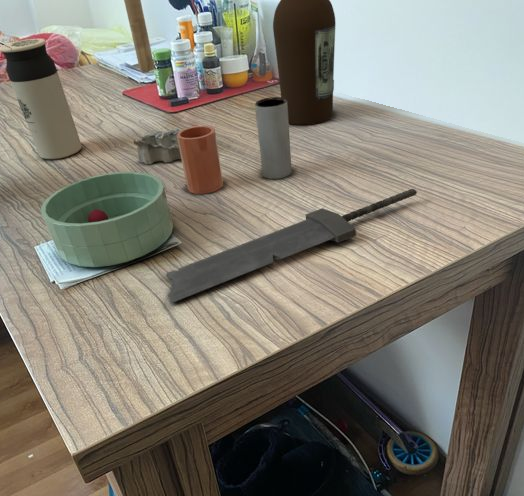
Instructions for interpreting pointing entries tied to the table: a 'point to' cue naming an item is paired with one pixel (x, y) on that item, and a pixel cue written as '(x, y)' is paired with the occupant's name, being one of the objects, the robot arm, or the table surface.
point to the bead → (97, 216)
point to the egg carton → (158, 146)
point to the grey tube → (274, 137)
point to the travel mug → (41, 98)
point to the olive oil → (305, 58)
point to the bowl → (119, 218)
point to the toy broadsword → (269, 249)
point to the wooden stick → (139, 35)
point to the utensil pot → (200, 159)
